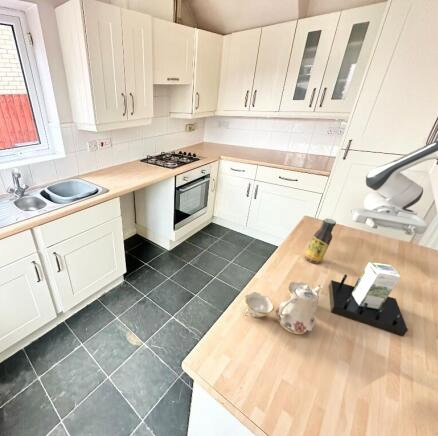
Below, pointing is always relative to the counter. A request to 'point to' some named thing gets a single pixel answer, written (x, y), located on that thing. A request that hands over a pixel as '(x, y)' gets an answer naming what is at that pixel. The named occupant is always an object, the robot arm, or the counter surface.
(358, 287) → the syrup box
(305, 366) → the counter surface
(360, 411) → the counter surface
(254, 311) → the chinaware
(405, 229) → the robot arm
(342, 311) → the dish rack
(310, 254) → the sauce bottle
